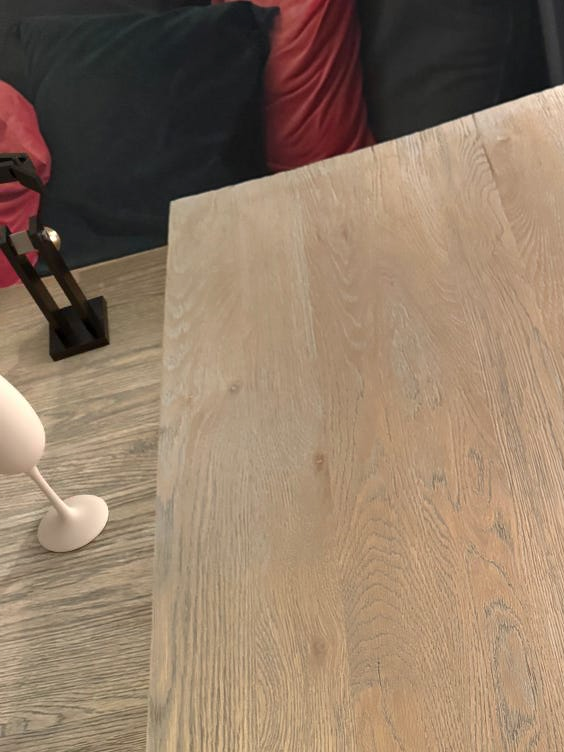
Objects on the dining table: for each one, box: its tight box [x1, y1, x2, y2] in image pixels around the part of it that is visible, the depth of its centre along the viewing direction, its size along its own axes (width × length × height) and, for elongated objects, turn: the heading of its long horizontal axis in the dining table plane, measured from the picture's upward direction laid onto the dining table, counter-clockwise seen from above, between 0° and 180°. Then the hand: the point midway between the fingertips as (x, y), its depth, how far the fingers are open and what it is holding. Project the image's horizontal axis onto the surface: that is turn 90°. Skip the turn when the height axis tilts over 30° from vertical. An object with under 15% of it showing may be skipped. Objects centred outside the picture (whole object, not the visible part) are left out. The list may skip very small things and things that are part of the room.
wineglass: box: [0, 374, 109, 553], centre depth 102 cm, size 9×9×21 cm
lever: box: [9, 226, 61, 255], centre depth 125 cm, size 13×4×4 cm, turn 13°
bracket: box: [0, 214, 110, 362], centre depth 126 cm, size 10×8×16 cm
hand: (3, 211), depth 132 cm, fingers open, 13 cm apart
